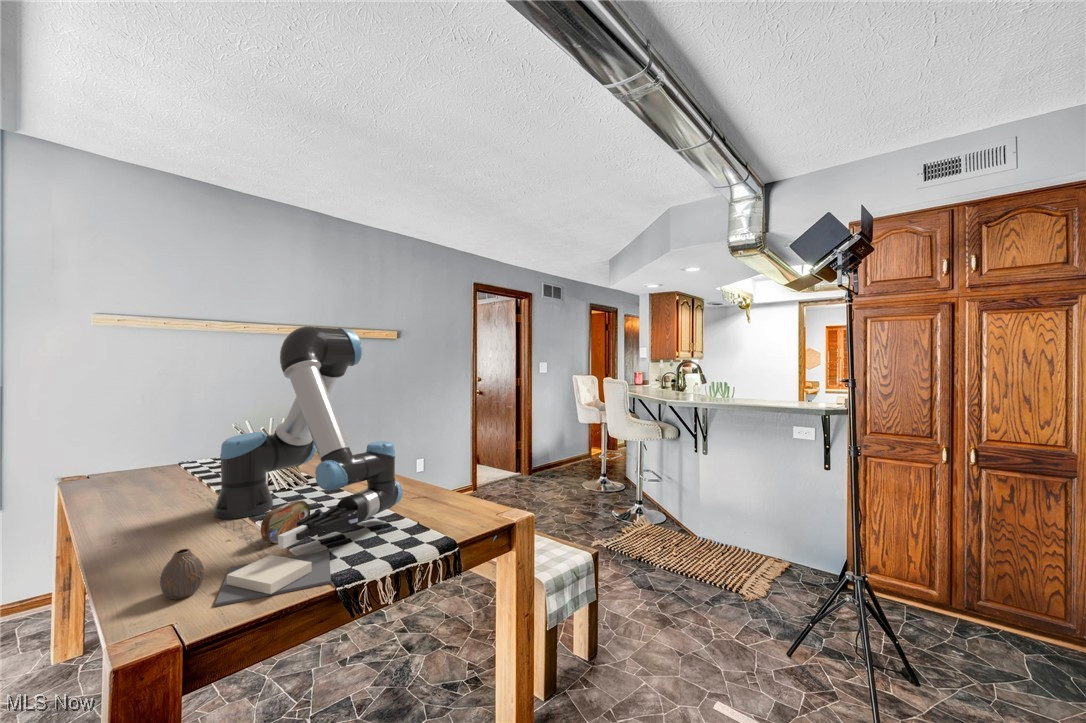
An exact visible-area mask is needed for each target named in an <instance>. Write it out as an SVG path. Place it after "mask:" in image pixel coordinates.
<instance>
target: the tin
mask: <svg viewBox="0 0 1086 723" xmlns="http://www.w3.org/2000/svg"><path fill="white" fill-rule="evenodd" d="M309 515H311V508H310V506H309V504H308V503H307V502H306V501H305V500H295V501H290V502H288V503H285V504H284V505H281V506H280V507H276V508H275V509H272V510H271V511H268V513H267V514H265V515H264V517H263V519H262V520H261V524H260V536H261V538H262V540H263V541H264V542H266V543H268V544H278V535H281V534H283V533H285V532H288V531H290V530H292V529H295V528H297V522H299V521H300V520H302V519H304V518H305V517H307V516H309Z"/></svg>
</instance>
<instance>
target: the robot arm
mask: <svg viewBox="0 0 1086 723" xmlns="http://www.w3.org/2000/svg"><path fill="white" fill-rule="evenodd" d="M279 352H280V353H279V364H280V368H281V370H282V373H283V375H284V377H285V378H287V379H290V383H291V385H292V388H293V390H294V393H295V398H294V401H293V403H292V405H291V407H290V410H289V412H288V413H287V417H286V419H285V420H284V421H283V422H281V423H279V424H278V425H277V427H276V428H275V431H274V433H273V434H269V435H266V433H265V432H260V431H259V432H258V431H257V432H256V431H254V432H250V433H249V432H248V433H242V434H238V435H234V436H231V437H229V438H227V439H225V440H224V441H223V442H222V444H221V449H220V455H219V457H220V477H221V478H220V482H221V484H220V485H221V487H220V491H219V495H218V498H217V501H216V503H215V506H214V512H213V513H214V517H215V518H217V519H222V520H223V519H225V520H229V519H231V520H233V519H241V518H242V519H243V518H247V517H252V515H253V516H257V515H259V514H263V513H266V512H269V510H271V509H272V508H273V506H274V504H273V503H274V502H273V497H272V494H271V492H270V489H269V487H268V484H267V473H270V472H275V471H279V470H284V469H290V468H295V467H299V466H301V465H304V464H307V463H308V462H310V461H311V460H312V459H313V458H314V456H315V453H316V451H317V454H318V457H319V460H320V462H319V464H317V466H316V468H315V470H314V471H315V472H314V473H315V482H316V484H317V485H318V487H319V488H321V489H322V490H324V491H332V490H337V489H342V488H345V487H348V486H351V485H354V484H358V483H361V482H365V481H366V483H367V488H366V489H362V490H360V491H357V492H355V493H353V494H350V495H348V496H345V497H344V498H341V499H339V502H338V503H337V504H336V506H333V507H331V508H329V509H328V510H326V511H322V510H321V509H320V508H318V509H315V511H314V512H312V513H310V515H309V516H307V517H305V518H304V519H302V520H300V521H299V522H297V528H295V529H292V530H290V531H288V532H285V533H283V534H281V535H278V543H277V548H278V549H283V550H284V549H286V548H288V547H290V546H292V545H295V544H297V543H299V542H301V541H303V540H306V539H307V538H314V537H316V536H317V538H323V537H325V536H328V535H330V534H333V533H336V532H339V531H341V530H344V529H346V528H349V527H350V528H351V527H355V526H358V524H360V523H362V522H363V521H364V522H365V521H367V520H368V519H369V518H371V517H374V516H376V515H377V514H380V513H381V512H383V511H386V510H389V509H391V508H392V507H394V506H396V505H397V504H398V503H399V502H401V500H402V498H403V492H404V491H403V488H402V485H401V483H399V481H397V480H396V477H395V472H396V471H395V470H396V469H395V467H396V466H395V464H396V453H395V452H396V451H395V445H394V442H391V441H385V440H384V441H383V440H381V441H373V442H370V443H368V444H367V445H366V450H365V451H364V452H362V453H357V454H353V452H352V450H351V448H350V446H349V443H348V441H347V438H346V436H345V433H344V431H343V428H342V425H341V422H340V419H339V418H338V414H337V413H336V410H335V407H334V404H333V403H332V399H331V397H330V393H331V391H332V389H333V387H334V385H335V384H336V381H337V379H340V378H343V376H344V375H345V374H346V372H347V370H348V368H349V367H354V366H355V365H359V363H360V361H361V359H362V356H363V346H362V342H361V339H360V337H359V335H358V334H357V333H356V332H355V331H353V330H351V329H347V328H342V327H338V328H334V327H319V326H318V327H317V326H310V325H309V326H302V327H299V328H296V329H295V330H293V331H291V332H290V333H289V334H287V336H286V337H285V339H284V341H283V342H282V345H281V347H280V350H279Z"/></svg>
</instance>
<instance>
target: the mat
mask: <svg viewBox="0 0 1086 723" xmlns="http://www.w3.org/2000/svg"><path fill="white" fill-rule="evenodd" d="M284 557H285V556H284ZM285 558H291V559H296V560H302V561H307V562H312V572H310V573H308V574H306V575H304V576H303V577H301V578H299V579H297V580H295V581H294V582H292V583H290V584H288V585H286V586H285V587H283V588H281V589H279V590H277V591H276V592H274V593H272V594H268V593H263V592H259V591H254V590H250V589H245V588H240V587H236V586H231V585H227V575H228V574H230V573H232V572H234V571H236V570H238V569H241V568H243V567H245V566H247V565H249V564H251V563H252V562H251V563H246V564H239V565H234V566H230V567H229V569H228V572H227V574H226V577H225V579H224V581H223V584H222V586H221V589H220V591H219V593H218V595H217V598H216V600H215V603H214V608H215V607H221V606H224V605H226V606H227V605H230V604H236V603H241V602H246V601H250V600H256V599H261V598H265V597H271V596H274V595H275V596H276V595H280V594H284V593H291V592H296V591H299V590H305V589H309V588H314V587H319V586H324V585H329V584H332V579H331V562H330V561H331V560H330V559H331V558H330V549H324V550H319V551H314V552H309V553H302V554H296V555H291V556H286V557H285Z"/></svg>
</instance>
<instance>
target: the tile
mask: <svg viewBox="0 0 1086 723" xmlns="http://www.w3.org/2000/svg"><path fill="white" fill-rule="evenodd" d="M248 564H249V565H247V566H245V567H243V568H241V569H238V570H236V571H234V572H232V573H230V574H228V573H227V574H228V575H227V574H226V576H227V585H231V586H236V587H240V588H245V589H250V590H254V591H259V592H263V593H268V594H272V593H274V592H276V591H277V590H279V589H281V588H283V587H285V586H286V585H288V584H290V583H292V582H294V581H295V580H297V579H299V578H301V577H303V576H304V575H306V574H308V573H310V572H312V562H307V561H302V560H296V559H291V558H285V556H280V555H274V554H268V555H266V556H265V557H263V558H260V559H257V560H256V561H254V562H251V564H250V563H248Z"/></svg>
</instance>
